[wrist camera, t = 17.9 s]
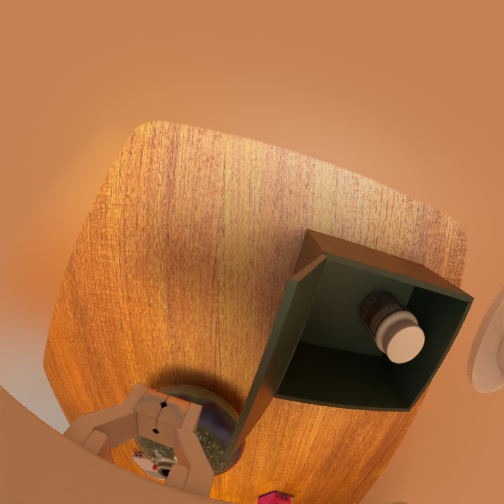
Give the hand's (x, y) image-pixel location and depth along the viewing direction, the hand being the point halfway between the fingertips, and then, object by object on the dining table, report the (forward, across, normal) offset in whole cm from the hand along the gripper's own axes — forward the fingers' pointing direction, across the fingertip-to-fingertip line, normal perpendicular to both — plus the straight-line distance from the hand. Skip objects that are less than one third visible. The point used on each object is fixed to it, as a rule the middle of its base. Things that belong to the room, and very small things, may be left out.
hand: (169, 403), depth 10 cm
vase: (+20, +1, +22) cm, 30 cm away
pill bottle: (+20, -17, 0) cm, 26 cm away
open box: (+20, -14, 0) cm, 24 cm away
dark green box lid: (+5, -5, 0) cm, 7 cm away
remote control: (+20, +7, +48) cm, 53 cm away
